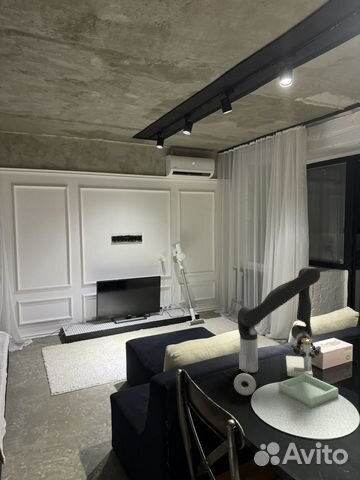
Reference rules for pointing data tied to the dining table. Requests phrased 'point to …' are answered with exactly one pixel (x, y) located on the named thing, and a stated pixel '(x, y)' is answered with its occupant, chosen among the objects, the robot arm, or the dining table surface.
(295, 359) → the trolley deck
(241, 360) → the robot arm
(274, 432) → the dining table surface
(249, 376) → the donut
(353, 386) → the dining table surface
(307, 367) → the pin
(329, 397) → the tray
